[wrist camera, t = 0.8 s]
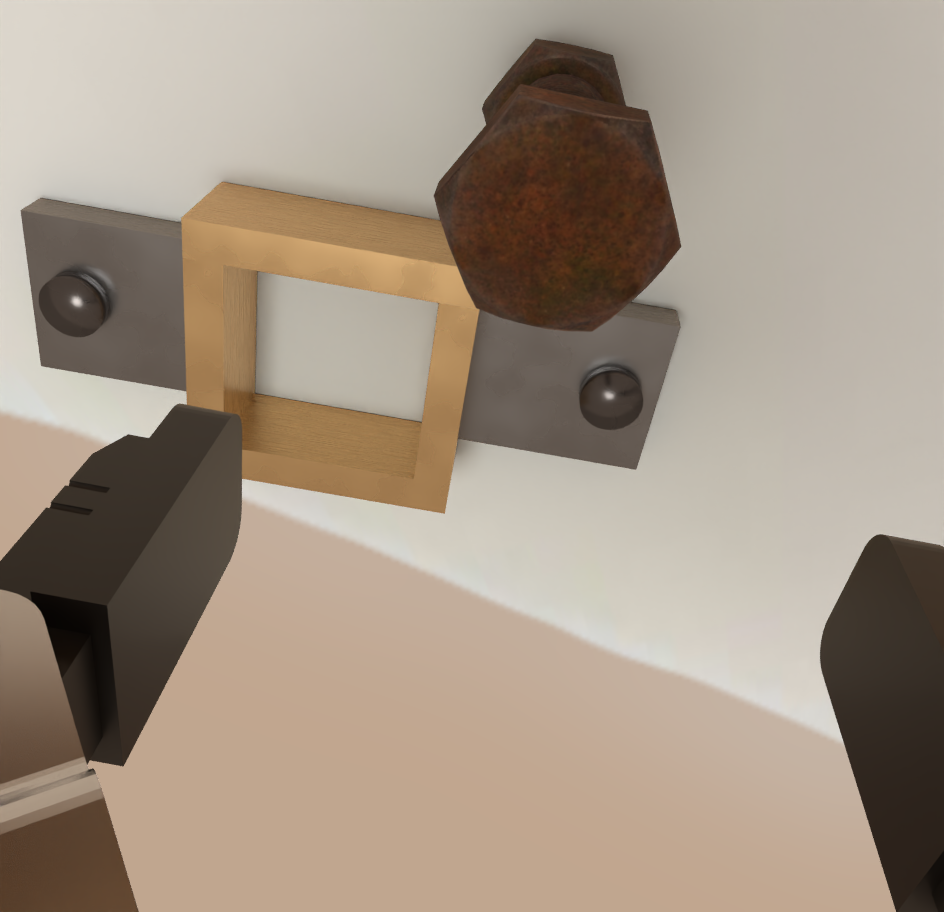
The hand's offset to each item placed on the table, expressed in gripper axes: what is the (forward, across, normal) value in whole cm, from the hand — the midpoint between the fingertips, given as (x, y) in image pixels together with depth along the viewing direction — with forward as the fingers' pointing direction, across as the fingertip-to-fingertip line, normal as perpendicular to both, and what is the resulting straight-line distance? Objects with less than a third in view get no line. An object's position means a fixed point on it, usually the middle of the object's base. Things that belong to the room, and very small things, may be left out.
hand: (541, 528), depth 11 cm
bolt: (+26, 0, 0) cm, 26 cm away
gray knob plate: (+26, -2, +10) cm, 28 cm away
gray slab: (+25, +16, +10) cm, 32 cm away
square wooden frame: (+26, +7, +10) cm, 29 cm away
